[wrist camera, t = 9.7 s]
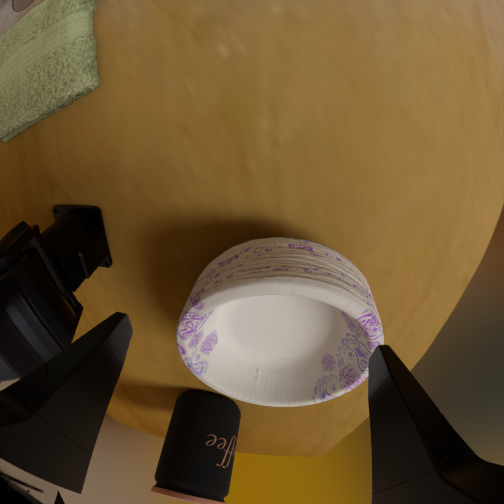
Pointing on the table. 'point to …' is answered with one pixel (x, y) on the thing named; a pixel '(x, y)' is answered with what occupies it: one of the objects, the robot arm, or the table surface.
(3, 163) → the table surface
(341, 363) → the paper bowls
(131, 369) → the table surface
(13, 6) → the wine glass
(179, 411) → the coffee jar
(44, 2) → the washcloth
